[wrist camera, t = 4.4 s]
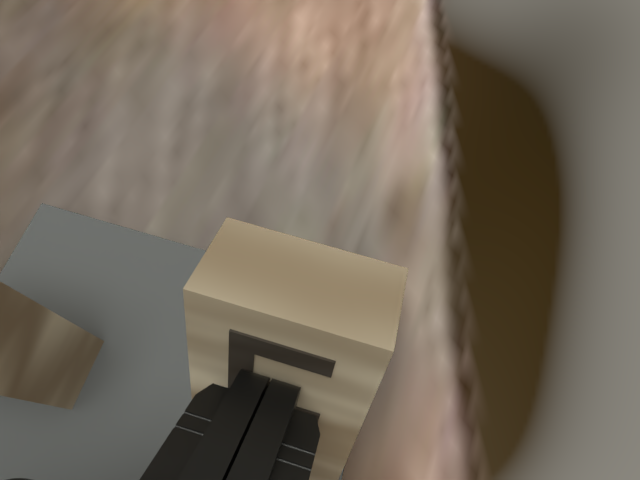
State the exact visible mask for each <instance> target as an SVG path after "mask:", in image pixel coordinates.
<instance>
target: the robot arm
mask: <svg viewBox="0 0 640 480" xmlns="http://www.w3.org/2000/svg"><path fill="white" fill-rule="evenodd" d="M300 391H301V387H298V386H295V385H292V384H289V383H286V382H283V381H279V380H276V379H273V378H272V380H271V381H270V378H269V377H266V376H263V375H260V374H257V373H253V372H250V371H247V370H244V369H241V370H240V371H239V372H238V374H237V376H236V378H235V380H234V381H233V383H232V385H231V387H230V388H226V387H223V386H220V385H217V384H214V383H212V384H211V385H209V386H208V387H206V388H205V389H203V390H202V391H200V392H198V393H197V394H195V396H194V397H193V399H192V400H191V402H190V403H189V405H188V406H187V408H186V410H185V412H184V414H182V416H181V417H180V419H179V420H178V422H177V423H176V426H175V428H173V429H172V431H171V432H170V434H169V435H168V437H167V438H166V440H165V441H164V443H163V445H162V446H161V448H160V449H159V451H158V452H157V454H156V455H155V457H154V458H153V460H152V461H151V463H150V464H149V466H148V467H147V469H146V470H145V472H144V473H143V475H142V476H141V478H140V479H139V480H309V477H310V473H311V469H312V466H313V462H314V458H315V454H316V450H317V446H318V442H319V438H320V431H319V427H318V423H317V418H316V416H315V415H312V414H308V413H305V412H302V411H299V410H296V406H297V402H298V398H299V395H300ZM7 480H32V479H27V478H12V479H7Z"/></svg>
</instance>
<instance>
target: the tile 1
mask: <svg viewBox="0 0 640 480" xmlns="http://www.w3.org/2000/svg"><path fill="white" fill-rule="evenodd" d="M103 343H104V341H103V340H101V339H99V338H98V337H96V336H94V335H92V334H91V333H89V332H87V331H85V330H84V329H82V328H80V327H78V326H77V325H75V324H73V323H72V322H70V321H68V320H66V319H65V318H63V317H61V316H59V315H58V314H56V313H54V312H52V311H51V310H49V309H47V308H45V307H44V306H42V305H40V304H38V303H37V302H35V301H33V300H32V299H30V298H28V297H26V296H25V295H23V294H21V293H19V292H18V291H16V290H14V289H12V288H11V287H9V286H7V285H5V284H4V283H2V282H0V396H5V397H10V398H15V399H20V400H25V401H30V402H35V403H40V404H45V405H50V406H55V407H60V408H65V409H70V410H72V408H73V406H74V404H75V402H76V400H77V398H78V396H79V393H80V391H81V389H82V387H83V385H84V383H85V381H86V379H87V376H88V374H89V372H90V370H91V368H92V366H93V364H94V362H95V360H96V357H97V355H98V353H99V351H100V349H101V347H102V345H103Z"/></svg>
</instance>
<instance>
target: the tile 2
mask: <svg viewBox="0 0 640 480" xmlns="http://www.w3.org/2000/svg"><path fill="white" fill-rule="evenodd" d="M407 273H408V268H404V267H401V266H397V265H394V264H390V263H387V262H383V261H380V260H376V259H372V258H369V257H365V256H362V255H358V254H355V253H351V252H348V251H344V250H341V249H337V248H334V247H330V246H326V245H323V244H319V243H316V242H312V241H309V240H305V239H302V238H298V237H295V236H291V235H288V234H284V233H280V232H277V231H273V230H270V229H266V228H263V227H259V226H256V225H252V224H249V223H245V222H242V221H238V220H235V219H231V218H226V220H225V222H224V223H223V225H222V226H221V228H220V230H219V231H218V233H217V234H216V236H215V238H214V239H213V241H212V243H211V244H210V246H209V247H208V249H207V251H206V252H205V254H204V255H203V257H202V259H201V260H200V262H199V264H198V265H197V267H196V268H195V270H194V272H193V273H192V275H191V276H190V278H189V280H188V281H187V283H186V284H185V286H184V288H183V297H184V310H185V322H186V335H187V347H188V359H189V372H190V384H191V397H192V399H193V397H194V396H195V394H197V393H198V392H200V391H202V390H203V389H205V388H206V387H208V386H209V385H211V384H212V383H214V384H217V385H220V386H223V387H226V388H230V387H231V385H232V383H233V381H234V380H235V378H236V376H237V374H238V372H239V371H240V370H241V369H244V370H247V371H250V372H253V373H257V374H260V375H263V376H266V377H269V378H270V381H271V380H272V378H273V379H276V380H279V381H283V382H286V383H289V384H292V385H295V386H298V387H301V391H300V395H299V398H298V402H297V406H296V410H299V411H302V412H305V413H308V414H312V415H315V416H316V418H317V423H318V427H319V431H320V438H319V442H318V446H317V450H316V454H315V458H314V462H313V466H312V469H311V473H310V477H309V480H339V477H340V475H341V473H342V470H343V468H344V466H345V463H346V461H347V459H348V457H349V454H350V452H351V450H352V447H353V445H354V443H355V440H356V438H357V436H358V433H359V431H360V429H361V426H362V424H363V422H364V420H365V417H366V415H367V413H368V410H369V408H370V406H371V403H372V401H373V399H374V396H375V394H376V392H377V390H378V387H379V385H380V383H381V380H382V378H383V376H384V373H385V371H386V369H387V366H388V364H389V362H390V360H391V357H392V355H393V353H394V348H395V342H396V337H397V331H398V325H399V319H400V314H401V308H402V302H403V296H404V291H405V285H406V279H407Z"/></svg>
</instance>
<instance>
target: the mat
mask: <svg viewBox="0 0 640 480" xmlns="http://www.w3.org/2000/svg"><path fill="white" fill-rule="evenodd" d="M205 252H206V251H205V250H201V249H198V248H195V247H191V246H188V245H184V244H181V243H177V242H174V241H170V240H167V239H163V238H160V237H157V236H153V235H150V234H146V233H143V232H139V231H136V230H132V229H129V228H126V227H122V226H119V225H115V224H112V223H108V222H105V221H101V220H98V219H95V218H91V217H88V216H84V215H81V214H77V213H74V212H70V211H67V210H64V209H60V208H57V207H53V206H50V205H46V204H43V203H42V204H41V206H40V207H39V209H38V211H37V212H36V214H35V216H34V217H33V219H32V221H31V222H30V224H29V226H28V228H27V229H26V231H25V233H24V234H23V236H22V238H21V239H20V241H19V243H18V244H17V246H16V248H15V250H14V251H13V253H12V255H11V256H10V258H9V260H8V261H7V263H6V265H5V267H4V268H3V270H2V272H1V273H0V282H2V283H4V284H5V285H7V286H9V287H11V288H12V289H14V290H16V291H18V292H19V293H21V294H23V295H25V296H26V297H28V298H30V299H32V300H33V301H35V302H37V303H38V304H40V305H42V306H44V307H45V308H47V309H49V310H51V311H52V312H54V313H56V314H58V315H59V316H61V317H63V318H65V319H66V320H68V321H70V322H72V323H73V324H75V325H77V326H78V327H80V328H82V329H84V330H85V331H87V332H89V333H91V334H92V335H94V336H96V337H98V338H99V339H101V340H103V341H104V343H103V345H102V347H101V349H100V351H99V353H98V355H97V357H96V360H95V362H94V364H93V366H92V368H91V370H90V372H89V374H88V376H87V379H86V381H85V383H84V385H83V387H82V389H81V391H80V393H79V396H78V398H77V400H76V402H75V404H74V406H73V408H72V410H70V409H65V408H60V407H55V406H50V405H45V404H40V403H35V402H30V401H25V400H20V399H15V398H10V397H5V396H0V480H7V479H12V478H27V479H32V480H139V479H140V478H141V476H142V475H143V473H144V472H145V470H146V469H147V467H148V466H149V464H150V463H151V461H152V460H153V458H154V457H155V455H156V454H157V452H158V451H159V449H160V448H161V446H162V445H163V443H164V441H165V440H166V438H167V437H168V435H169V434H170V432H171V431H172V429H173V428H175V426H176V423H177V422H178V420H179V419H180V417H181V416H182V414H184V412H185V410H186V408H187V406H188V405H189V403H190V402H191V400H192V397H191V384H190V372H189V359H188V347H187V335H186V322H185V310H184V297H183V288H184V286H185V284H186V283H187V281H188V280H189V278H190V276H191V275H192V273H193V272H194V270H195V268H196V267H197V265H198V264H199V262H200V260H201V259H202V257H203V255H204V254H205ZM344 467H345V466H344ZM343 471H344V468H343V470H342V473H341V475H340V477H339V480H341V479H342V475H343Z"/></svg>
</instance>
